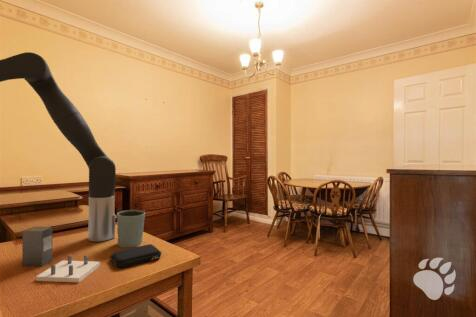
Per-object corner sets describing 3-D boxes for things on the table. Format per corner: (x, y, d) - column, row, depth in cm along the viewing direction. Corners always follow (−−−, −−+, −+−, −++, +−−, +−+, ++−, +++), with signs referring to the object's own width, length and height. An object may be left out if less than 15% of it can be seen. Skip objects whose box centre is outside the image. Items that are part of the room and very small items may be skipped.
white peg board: (62, 264, 78) (62, 252, 78) (100, 265, 78) (100, 253, 78) (35, 280, 68) (35, 267, 68) (79, 282, 68) (79, 269, 68)
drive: (33, 260, 80) (34, 226, 80) (52, 260, 80) (52, 227, 80) (22, 266, 76) (22, 230, 76) (42, 266, 76) (42, 231, 75)
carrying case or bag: (117, 273, 74) (164, 260, 83) (117, 263, 74) (164, 251, 83) (108, 260, 82) (152, 250, 92) (109, 251, 82) (152, 242, 91)
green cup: (117, 240, 99) (117, 210, 99) (144, 237, 103) (144, 209, 103) (115, 250, 90) (116, 217, 89) (145, 246, 94) (145, 215, 93)
